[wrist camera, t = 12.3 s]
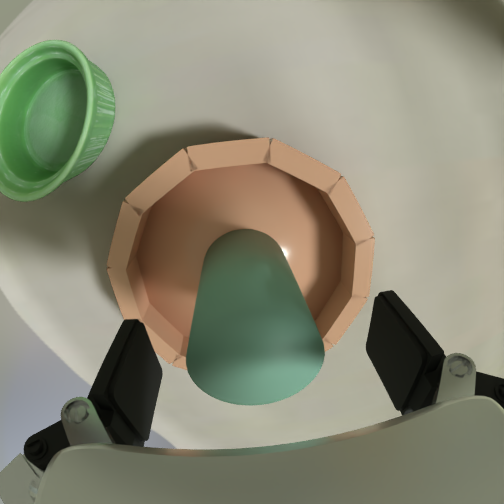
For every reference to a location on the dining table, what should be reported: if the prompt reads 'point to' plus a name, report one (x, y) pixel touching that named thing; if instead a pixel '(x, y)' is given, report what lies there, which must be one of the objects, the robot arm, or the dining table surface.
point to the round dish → (233, 218)
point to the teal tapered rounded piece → (251, 324)
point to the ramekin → (51, 118)
